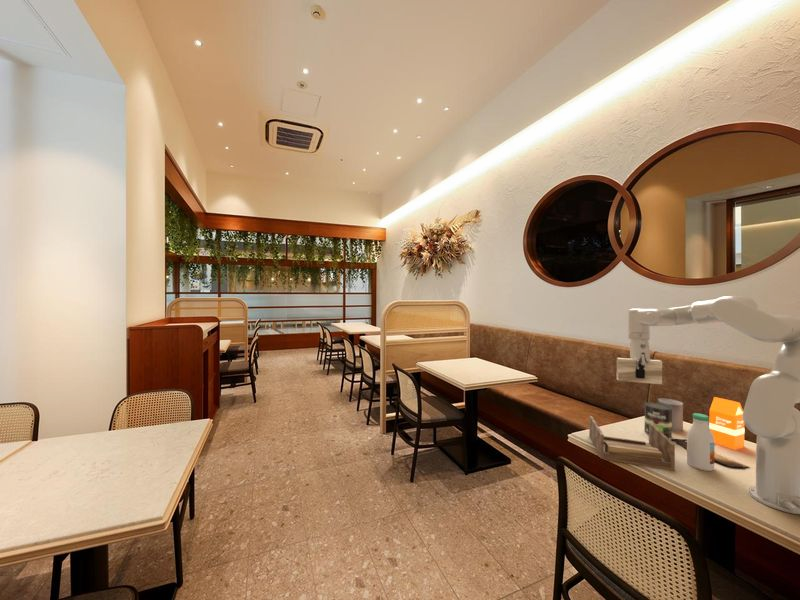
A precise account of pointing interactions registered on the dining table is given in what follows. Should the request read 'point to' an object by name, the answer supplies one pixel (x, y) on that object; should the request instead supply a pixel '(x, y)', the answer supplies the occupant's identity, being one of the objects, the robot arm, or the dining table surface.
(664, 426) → the coffee can
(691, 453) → the milk bottle
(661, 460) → the offcut lower
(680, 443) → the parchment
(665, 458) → the rack
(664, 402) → the pillar candle
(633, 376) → the birch panel
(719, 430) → the orange juice
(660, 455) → the offcut upper
